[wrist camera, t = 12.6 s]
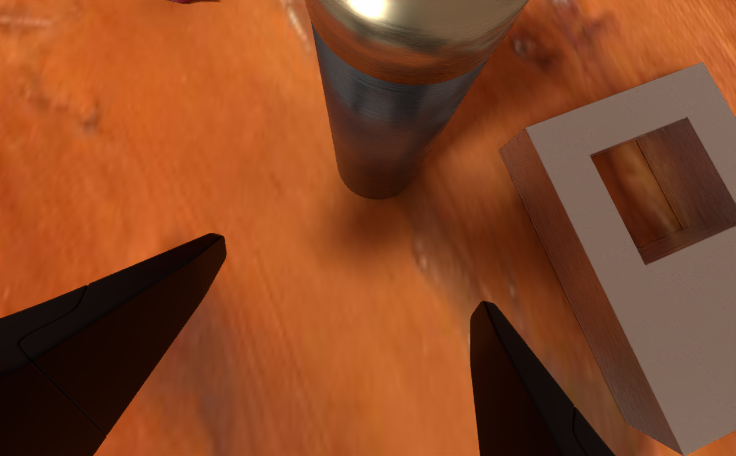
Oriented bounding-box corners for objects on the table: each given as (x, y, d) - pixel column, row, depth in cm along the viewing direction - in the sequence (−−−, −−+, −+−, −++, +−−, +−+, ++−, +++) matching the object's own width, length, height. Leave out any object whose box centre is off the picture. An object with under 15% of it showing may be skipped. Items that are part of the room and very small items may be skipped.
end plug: (353, 212, 18) (347, 64, 5) (324, 138, 18) (249, -172, 5) (428, 183, 18) (608, -22, 5) (398, 112, 19) (493, -231, 6)
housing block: (625, 422, 17) (684, 456, 14) (498, 150, 19) (525, 127, 16) (787, 343, 18) (874, 358, 15) (650, 92, 20) (703, 62, 17)
